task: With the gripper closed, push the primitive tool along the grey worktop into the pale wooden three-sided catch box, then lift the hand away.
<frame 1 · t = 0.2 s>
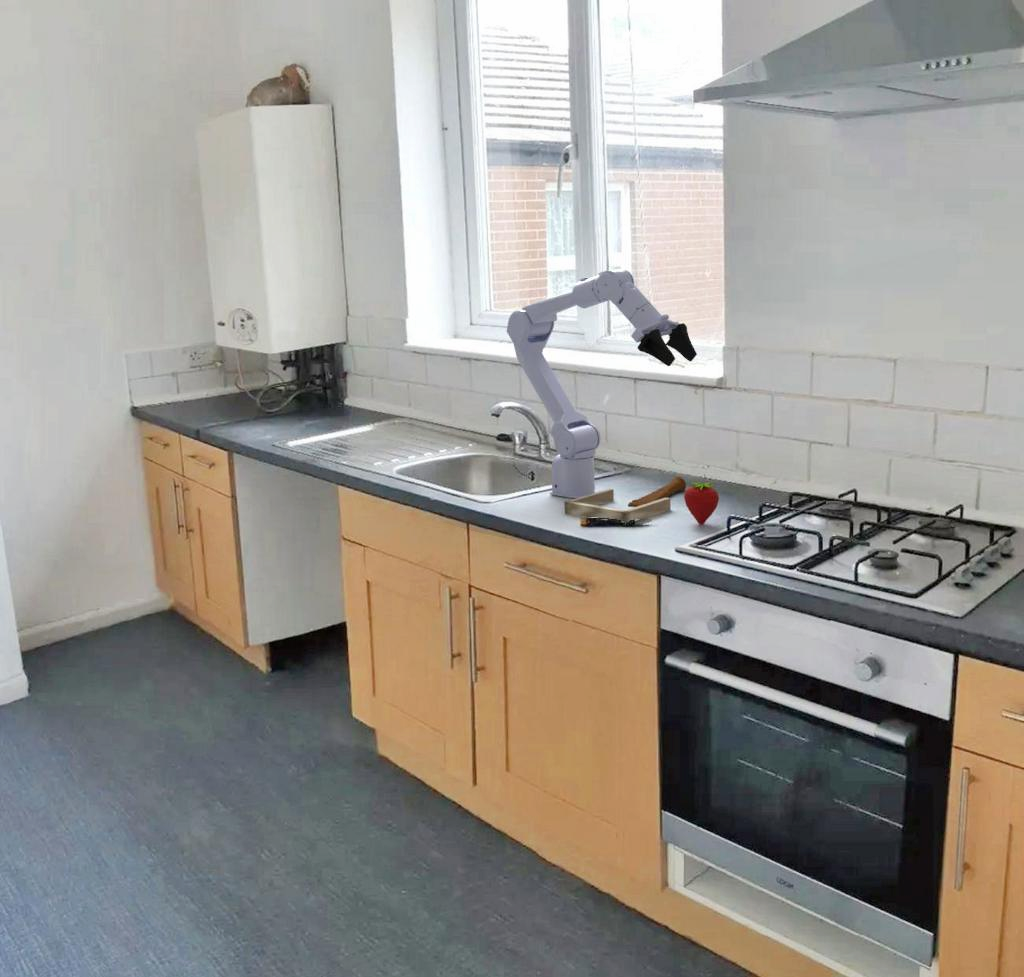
hand: (682, 360, 221), 31 cm above the worktop, tool tilted 45°, fingers open, 7 cm apart
primitive tool: (659, 501, 240), on the worktop
catch box: (619, 511, 230), on the worktop
strawberry: (701, 524, 217), on the worktop
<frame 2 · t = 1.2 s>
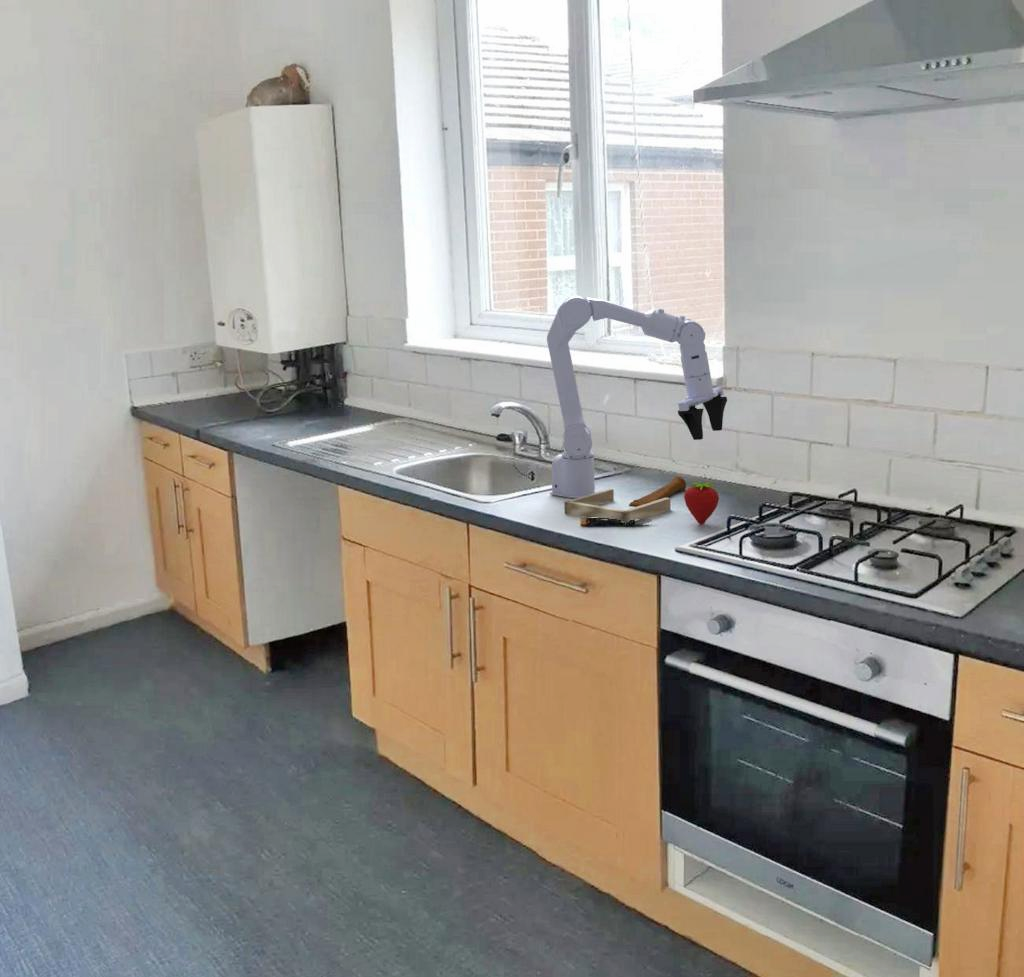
hand: (707, 434, 242), 13 cm above the worktop, tool pointing down, fingers open, 7 cm apart
nothing on the worktop moved.
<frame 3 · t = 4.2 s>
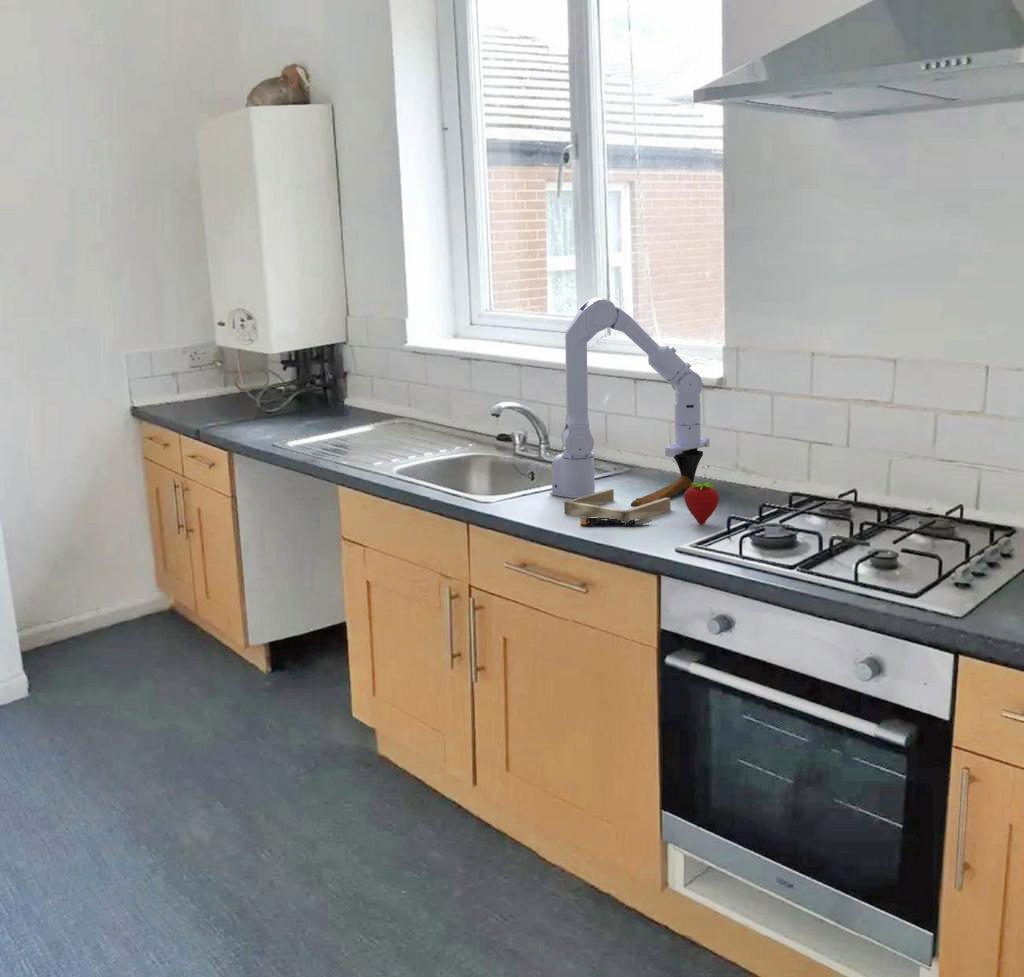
hand: (688, 482, 247), 1 cm above the worktop, tool pointing down, fingers closed
primitive tool: (664, 500, 239), on the worktop, touching gripper
everything else where it was.
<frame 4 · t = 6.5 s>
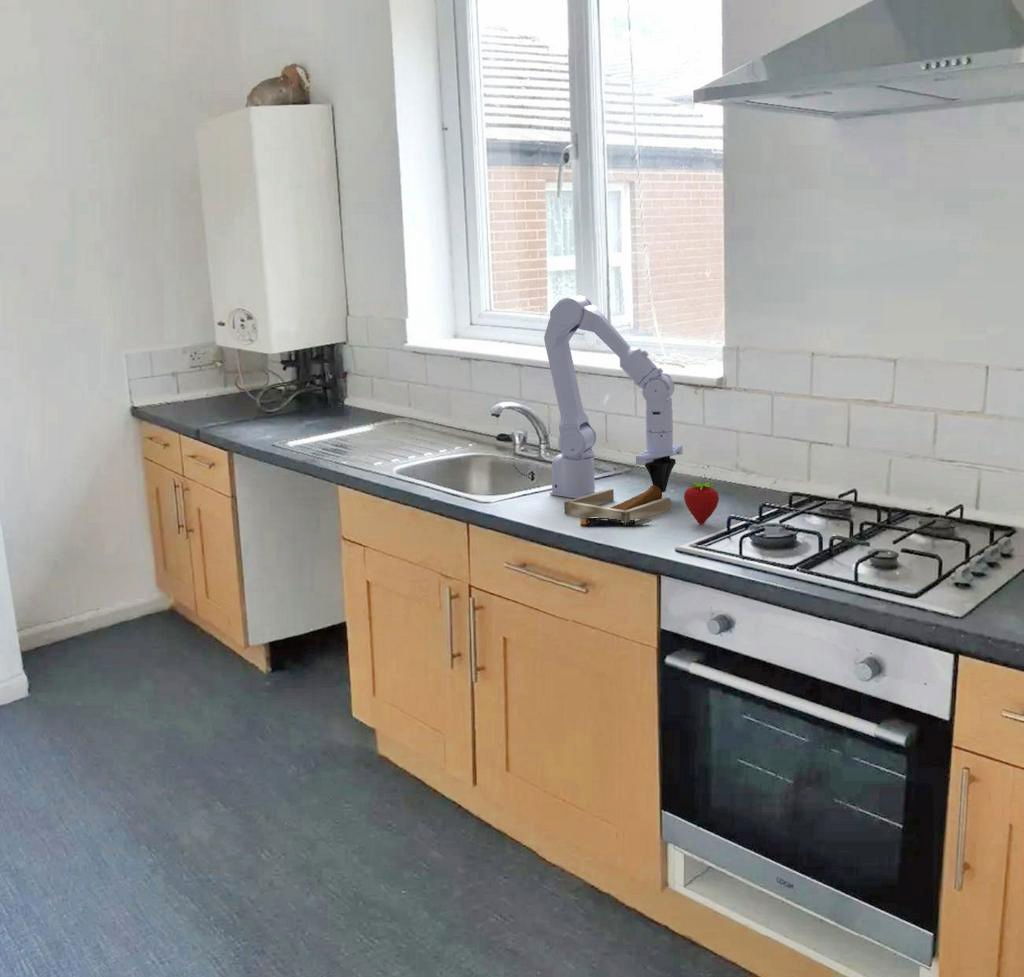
hand: (660, 491, 240), 1 cm above the worktop, tool pointing down, fingers closed
primitive tool: (632, 510, 232), on the worktop
everything else where it was.
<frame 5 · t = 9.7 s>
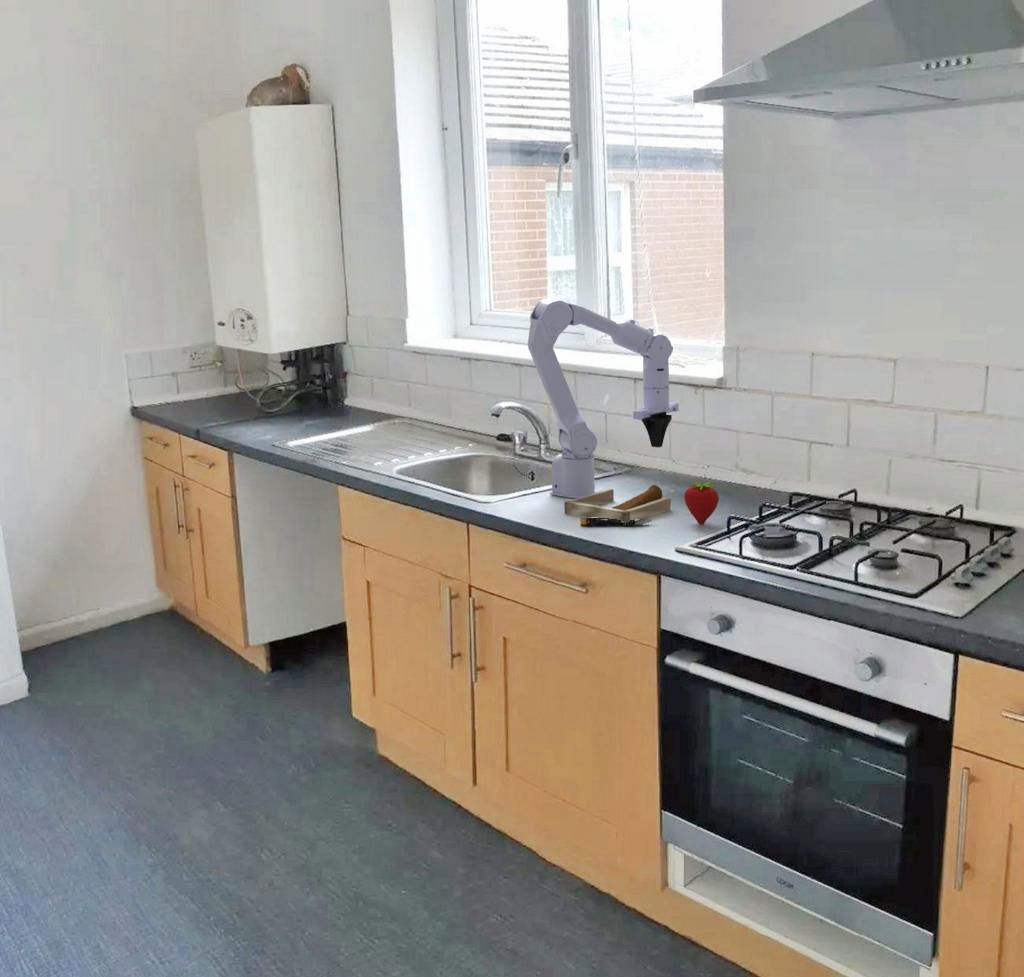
hand: (656, 446, 249), 9 cm above the worktop, tool pointing down, fingers closed
nothing on the worktop moved.
at the end: primitive tool inside the target area (1.6 cm from its centre), on the worktop; primitive tool moved 9.7 cm from its start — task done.
